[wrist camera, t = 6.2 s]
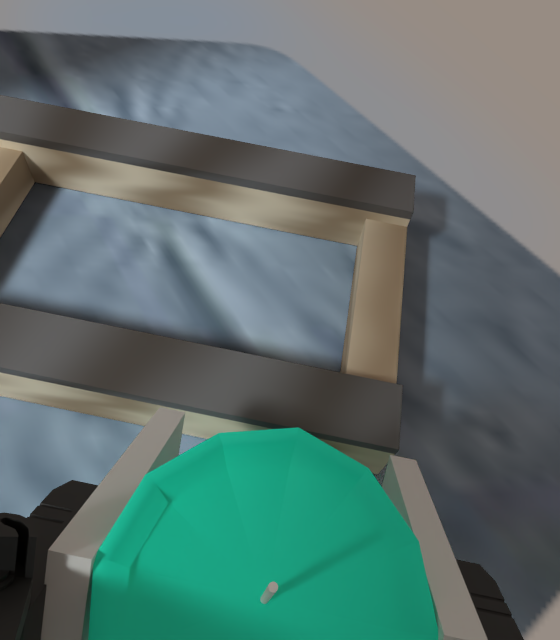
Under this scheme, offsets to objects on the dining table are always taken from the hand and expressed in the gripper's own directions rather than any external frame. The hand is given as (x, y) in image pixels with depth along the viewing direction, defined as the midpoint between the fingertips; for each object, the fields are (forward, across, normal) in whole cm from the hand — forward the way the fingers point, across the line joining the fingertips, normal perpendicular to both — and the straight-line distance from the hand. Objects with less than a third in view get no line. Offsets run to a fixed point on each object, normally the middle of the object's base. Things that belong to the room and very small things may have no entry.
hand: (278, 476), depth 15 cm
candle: (+1, 0, -6) cm, 6 cm away
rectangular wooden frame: (+10, -6, +3) cm, 13 cm away
